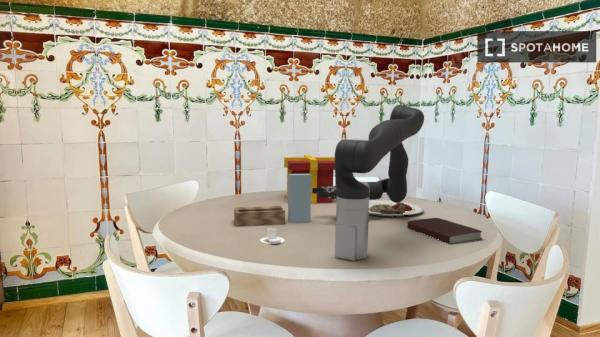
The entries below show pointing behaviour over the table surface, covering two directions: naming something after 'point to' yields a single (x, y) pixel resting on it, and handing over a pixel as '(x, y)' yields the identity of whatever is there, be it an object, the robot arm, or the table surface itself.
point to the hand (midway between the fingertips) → (315, 192)
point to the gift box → (313, 172)
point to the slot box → (259, 215)
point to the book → (445, 230)
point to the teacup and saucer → (272, 237)
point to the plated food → (392, 208)
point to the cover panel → (299, 198)
